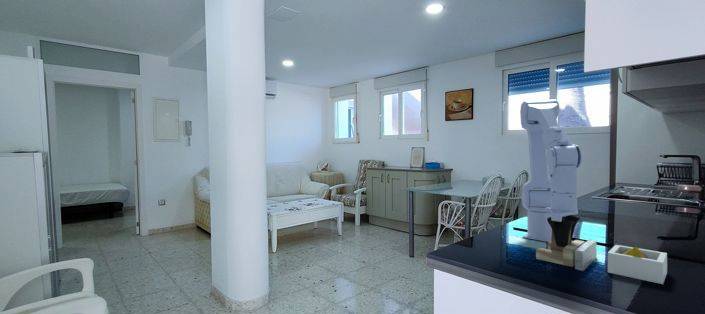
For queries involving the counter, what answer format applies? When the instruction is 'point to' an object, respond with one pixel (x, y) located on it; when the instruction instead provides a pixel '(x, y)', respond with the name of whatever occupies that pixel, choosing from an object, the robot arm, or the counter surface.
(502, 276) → the counter surface
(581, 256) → the rail
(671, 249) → the counter surface
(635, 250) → the yellow tapered piece
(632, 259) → the holder
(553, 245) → the peg
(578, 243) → the cradle
